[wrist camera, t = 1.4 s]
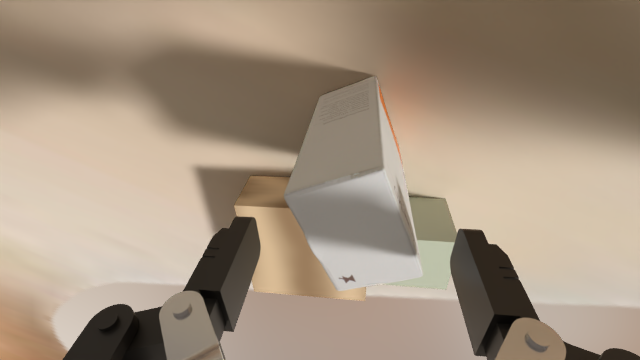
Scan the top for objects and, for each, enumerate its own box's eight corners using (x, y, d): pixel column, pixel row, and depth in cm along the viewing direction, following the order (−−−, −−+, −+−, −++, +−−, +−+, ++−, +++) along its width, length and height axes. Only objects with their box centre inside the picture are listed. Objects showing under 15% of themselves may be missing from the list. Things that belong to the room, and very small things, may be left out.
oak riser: (371, 180, 25) (371, 212, 22) (365, 265, 31) (365, 301, 28) (250, 175, 27) (233, 205, 23) (265, 258, 32) (254, 291, 29)
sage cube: (445, 198, 26) (459, 242, 21) (434, 242, 28) (446, 289, 24) (382, 195, 26) (385, 238, 22) (378, 238, 29) (379, 284, 25)
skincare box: (401, 148, 24) (426, 281, 14) (347, 164, 25) (334, 295, 15) (377, 70, 21) (386, 167, 11) (317, 93, 22) (276, 198, 12)
